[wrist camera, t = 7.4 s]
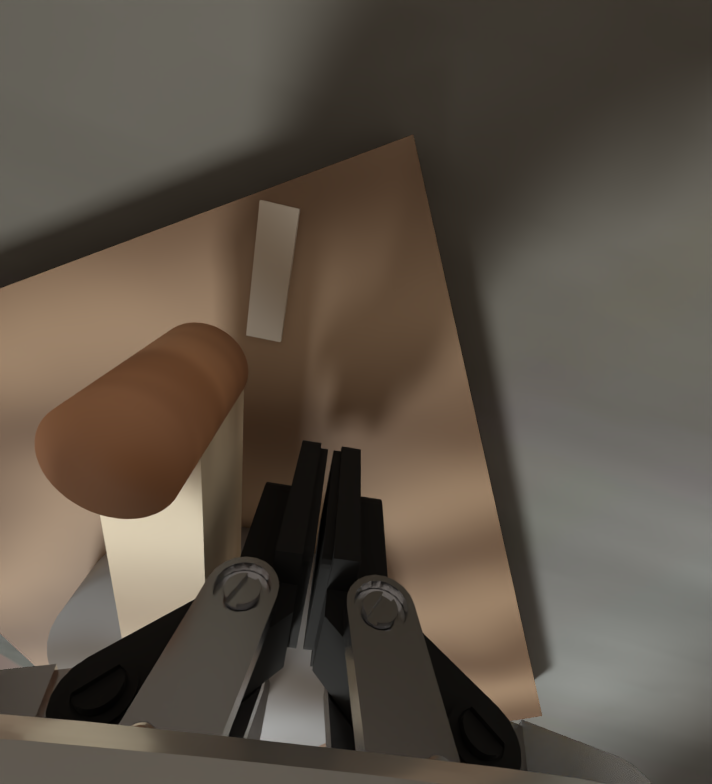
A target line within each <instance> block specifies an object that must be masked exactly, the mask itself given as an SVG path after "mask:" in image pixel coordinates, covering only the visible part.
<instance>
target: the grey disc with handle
mask: <svg viewBox="0 0 712 784" xmlns="http://www.w3.org/2000/svg"><path fill="white" fill-rule="evenodd" d="M247 379H248V364H247V360H246V357H245V355H244V352H243V350H242V349H241V347H240V346H239V344H238V343H237V342H236V341H235V340H234V339H233V338H232V337H231V336H230V335H229V334H227V333H226V332H225V331H223V330H221V329H219V328H217V327H215V326H212V325H209V324H205V323H198V322H192V323H185V324H181V325H178V326H176V327H174V328H172V329H171V330H170V331H168V332H167V333H165V334H164V335H162V336H161V337H159V338H158V339H156V340H155V341H153V342H152V343H150V344H149V345H147V346H146V347H144V348H143V349H141V350H140V351H138V352H137V353H135V354H134V355H133V356H131V357H130V358H128V359H127V360H125V361H124V362H122V363H121V364H119V365H118V366H116V367H115V368H113V369H112V370H110V371H109V372H107V373H106V374H104V375H103V376H101V377H100V378H98V379H97V380H95V381H94V382H93V383H91V384H90V385H88V386H87V387H85V388H84V389H82V390H81V391H79V392H78V393H76V394H75V395H73V396H72V397H70V398H69V399H67V400H66V401H64V402H63V403H61V404H60V405H58V406H57V407H55V408H54V409H53V410H51V411H50V412H49V413H48V414H47V415H46V416H45V417H44V418H43V419H42V421H41V422H40V424H39V425H38V428H37V431H36V434H35V453H36V457H37V460H38V463H39V466H40V468H41V470H42V472H43V473H44V475H45V476H46V478H47V479H48V480H49V482H50V483H51V484H52V485H53V486H54V487H55V488H56V489H57V490H58V491H59V492H60V493H61V494H62V495H63V496H65V497H66V498H67V499H69V500H70V501H72V502H73V503H75V504H76V505H78V506H80V507H82V508H84V509H86V510H88V511H91V512H93V513H96V514H99V515H100V518H101V524H102V529H103V535H104V541H105V546H106V552H107V553H106V554H105V555H104V556H103V557H102V558H101V559H100V560H99V561H98V562H97V563H96V565H95V566H94V567H93V568H92V570H91V571H90V572H89V574H88V575H87V576H86V578H85V579H84V580H83V582H82V583H81V585H80V586H79V587H78V589H77V590H76V591H75V593H74V594H73V596H72V597H71V598H70V600H69V601H68V602H67V604H66V605H65V606H64V608H63V609H62V611H61V612H60V613H59V615H58V616H57V618H56V620H55V621H54V623H53V625H52V627H51V629H50V633H49V637H48V640H47V658H48V662H49V665H50V664H57V668H58V669H67V668H73V667H74V666H76V665H77V664H78V663H80V662H81V661H83V660H84V659H86V658H87V657H89V656H91V655H93V654H95V653H96V652H98V651H100V650H102V649H104V648H106V647H107V646H109V645H111V644H113V643H115V642H117V641H118V640H120V639H122V638H124V637H126V636H128V635H129V634H131V633H133V632H135V631H137V630H139V629H141V628H142V627H144V626H146V625H148V624H150V623H152V622H153V621H155V620H157V619H159V618H161V617H163V616H164V615H166V614H168V613H170V612H172V611H174V610H175V609H177V608H179V607H181V606H183V605H185V604H187V603H188V602H190V601H192V600H194V599H195V598H196V596H197V595H198V593H199V591H200V590H201V588H202V587H203V585H204V583H205V582H206V580H207V578H208V577H209V575H210V574H211V573H212V572H213V571H214V569H215V568H216V567H218V566H219V565H221V564H222V563H224V562H225V561H228V560H231V559H233V558H237V557H240V556H241V553H242V550H243V547H244V544H245V541H246V538H247V536H248V533H249V530H250V528H246V527H241V515H242V462H243V409H244V388H245V385H246V383H247ZM314 561H315V554H314V557H313V563H312V568H311V573H310V579H309V584H308V589H307V594H306V600H305V605H304V610H303V616H302V621H301V626H300V631H299V637H298V642H297V647H296V648H289V647H287V651H286V656H285V662H284V667H283V668H282V669H281V670H279V671H278V672H277V673H276V674H274V675H273V676H272V677H270V678H269V679H268V680H267V681H265V684H264V690H263V693H262V696H261V698H260V701H259V704H258V707H257V710H256V713H255V716H254V719H253V722H252V725H251V727H250V730H249V733H248V736H247V739H255V740H264V741H273V742H282V743H291V744H300V745H309V746H320V745H322V744H324V743H326V738H325V721H324V703H323V693H324V686H323V684H322V683H321V682H320V680H319V679H318V678H317V676H316V675H315V674H314V672H313V671H312V668H313V667H311V666H310V661H311V652H312V650H305V649H303V645H304V638H305V630H306V622H307V615H308V607H309V599H310V592H311V584H312V576H313V569H314Z"/></svg>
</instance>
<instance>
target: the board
mask: <svg viewBox="0 0 712 784" xmlns="http://www.w3.org/2000/svg"><path fill="white" fill-rule="evenodd" d="M192 322H198V323H205V324H209V325H212V326H215V327H217V328H219V329H221V330H223V331H225V332H226V333H227V334H229V335H230V336H231V337H232V338H233V339H234V340H235V341H236V342H237V343H238V344H239V346H240V347H241V349H242V350H243V352H244V355H245V357H246V360H247V364H248V379H247V383H246V385H245V388H244V409H243V462H242V515H241V527H246V528H250V527H251V524H252V521H253V518H254V515H255V512H256V509H257V507H258V504H259V501H260V498H261V495H262V492H263V489H264V486H265V484H266V482H271V483H278V484H284V485H292V481H293V477H294V473H295V469H296V465H297V461H298V457H299V453H300V449H301V445H302V441H303V440H306V441H312V442H319V443H322V444H321V448H324V449H328V455H327V462H326V470H325V477H324V485H323V492H322V499H321V507H320V514H319V522H318V529H317V536H316V544H315V551H314V554H315V553H316V546H317V538H318V531H319V525H320V519H321V514H322V509H323V503H324V498H325V493H326V488H327V482H328V477H329V472H330V466H331V461H332V456H333V451H334V450H336V451H341V448H342V446H343V447H350V448H356V449H361V496H362V497H369V498H375V499H381V500H382V505H383V518H384V532H385V546H386V560H387V574H388V578H391V579H393V580H395V581H396V582H398V583H399V584H400V585H402V586H403V587H404V588H405V589H406V590H407V592H408V593H409V594H410V596H411V598H412V600H413V602H414V604H415V608H416V611H417V615H418V618H419V622H420V625H421V628H422V632H423V633H424V634H425V635H426V636H427V637H428V638H429V639H430V640H431V641H432V642H433V643H434V644H435V645H436V646H437V647H438V648H439V649H440V650H441V651H442V652H443V653H444V654H445V655H446V656H447V657H448V658H449V659H450V660H451V661H452V662H453V663H454V664H455V665H456V666H457V667H458V668H459V669H460V670H461V671H462V672H463V673H464V674H465V675H466V676H467V677H468V678H469V679H470V680H471V681H472V682H473V683H474V684H475V685H476V686H477V687H478V688H479V689H481V690H482V691H483V692H484V693H485V694H486V695H487V696H488V697H489V698H490V699H491V700H492V701H493V702H494V703H495V704H496V705H497V706H498V707H499V708H500V710H501V711H502V712H503V713H504V714H505V716H506V717H507V718H508V719H509V721H513V720H519V719H525V718H531V717H538V716H542V713H541V708H540V704H539V699H538V695H537V690H536V686H535V681H534V677H533V672H532V668H531V663H530V659H529V654H528V650H527V645H526V641H525V636H524V632H523V627H522V623H521V618H520V614H519V609H518V605H517V600H516V596H515V591H514V587H513V582H512V578H511V573H510V569H509V564H508V560H507V555H506V551H505V546H504V542H503V537H502V532H501V528H500V523H499V519H498V514H497V510H496V505H495V501H494V496H493V492H492V487H491V483H490V478H489V474H488V469H487V465H486V460H485V456H484V451H483V447H482V442H481V438H480V433H479V429H478V424H477V420H476V415H475V411H474V406H473V402H472V397H471V393H470V388H469V384H468V379H467V375H466V370H465V366H464V361H463V357H462V352H461V348H460V343H459V339H458V334H457V330H456V325H455V321H454V316H453V312H452V307H451V303H450V298H449V294H448V289H447V285H446V280H445V276H444V271H443V266H442V262H441V257H440V253H439V248H438V244H437V239H436V235H435V230H434V226H433V221H432V217H431V212H430V208H429V203H428V199H427V194H426V190H425V185H424V181H423V176H422V172H421V167H420V163H419V158H418V154H417V149H416V145H415V140H414V136H413V135H410V136H407V137H405V138H402V139H399V140H397V141H394V142H391V143H389V144H386V145H383V146H381V147H378V148H375V149H373V150H370V151H367V152H365V153H362V154H359V155H357V156H354V157H351V158H348V159H346V160H343V161H340V162H338V163H335V164H332V165H330V166H327V167H324V168H322V169H319V170H316V171H314V172H311V173H308V174H306V175H303V176H300V177H298V178H295V179H292V180H289V181H287V182H284V183H281V184H279V185H276V186H273V187H271V188H268V189H265V190H263V191H260V192H257V193H255V194H252V195H249V196H247V197H244V198H241V199H239V200H236V201H233V202H230V203H228V204H225V205H222V206H220V207H217V208H214V209H212V210H209V211H206V212H204V213H201V214H198V215H196V216H193V217H190V218H188V219H185V220H182V221H179V222H177V223H174V224H171V225H169V226H166V227H163V228H161V229H158V230H155V231H153V232H150V233H147V234H145V235H142V236H139V237H137V238H134V239H131V240H129V241H126V242H123V243H120V244H118V245H115V246H112V247H110V248H107V249H104V250H102V251H99V252H96V253H94V254H91V255H88V256H86V257H83V258H80V259H78V260H75V261H72V262H70V263H67V264H64V265H61V266H59V267H56V268H53V269H51V270H48V271H45V272H43V273H40V274H37V275H35V276H32V277H29V278H27V279H24V280H21V281H19V282H16V283H13V284H11V285H8V286H5V287H2V288H0V634H1V635H2V636H3V637H5V638H6V639H7V640H8V641H9V642H10V643H11V644H12V645H13V646H14V647H15V648H16V649H17V650H18V651H20V652H21V653H22V654H23V655H24V656H25V657H26V658H27V659H28V660H29V661H30V662H31V663H32V664H34V665H35V666H41V665H49V662H48V658H47V640H48V637H49V633H50V629H51V627H52V625H53V623H54V621H55V620H56V618H57V616H58V615H59V613H60V612H61V611H62V609H63V608H64V606H65V605H66V604H67V602H68V601H69V600H70V598H71V597H72V596H73V594H74V593H75V591H76V590H77V589H78V587H79V586H80V585H81V583H82V582H83V580H84V579H85V578H86V576H87V575H88V574H89V572H90V571H91V570H92V568H93V567H94V566H95V565H96V563H97V562H98V561H99V560H100V559H101V558H102V557H103V556H104V555H105V554H106V553H107V552H106V546H105V541H104V535H103V529H102V524H101V518H100V515H99V514H96V513H93V512H91V511H88V510H86V509H84V508H82V507H80V506H78V505H76V504H75V503H73V502H72V501H70V500H69V499H67V498H66V497H65V496H63V495H62V494H61V493H60V492H59V491H58V490H57V489H56V488H55V487H54V486H53V485H52V484H51V483H50V482H49V480H48V479H47V478H46V476H45V475H44V473H43V472H42V470H41V468H40V466H39V463H38V460H37V457H36V453H35V434H36V431H37V428H38V425H39V424H40V422H41V421H42V419H43V418H44V417H45V416H46V415H47V414H48V413H49V412H50V411H51V410H53V409H54V408H55V407H57V406H58V405H60V404H61V403H63V402H64V401H66V400H67V399H69V398H70V397H72V396H73V395H75V394H76V393H78V392H79V391H81V390H82V389H84V388H85V387H87V386H88V385H90V384H91V383H93V382H94V381H95V380H97V379H98V378H100V377H101V376H103V375H104V374H106V373H107V372H109V371H110V370H112V369H113V368H115V367H116V366H118V365H119V364H121V363H122V362H124V361H125V360H127V359H128V358H130V357H131V356H133V355H134V354H135V353H137V352H138V351H140V350H141V349H143V348H144V347H146V346H147V345H149V344H150V343H152V342H153V341H155V340H156V339H158V338H159V337H161V336H162V335H164V334H165V333H167V332H168V331H170V330H171V329H172V328H174V327H176V326H178V325H181V324H185V323H192ZM318 747H326V743H324V744H322V745H320V746H318Z"/></svg>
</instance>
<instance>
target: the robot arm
mask: <svg viewBox="0 0 712 784" xmlns="http://www.w3.org/2000/svg"><path fill="white" fill-rule="evenodd" d="M321 444H322V443H319V442H312V441H306V440H303V441H302V445H301V449H300V453H299V457H298V461H297V465H296V469H295V473H294V477H293V481H292V485H284V484H278V483H271V482H266V484H265V486H264V489H263V492H262V495H261V498H260V501H259V504H258V507H257V509H256V512H255V515H254V518H253V521H252V524H251V527H250V530H249V533H248V536H247V538H246V541H245V544H244V547H243V550H242V553H241V556H240V557H237V558H233V559H231V560H228V561H225V562H224V563H222V564H221V565H219V566H218V567H216V568H215V569H214V571H213V572H212V573H211V574H210V575H209V577H208V578H207V580H206V582H205V583H204V585H203V587H202V588H201V590H200V591H199V593H198V595H197V596H196V598H195V599H194V600H192V601H190V602H188V603H187V604H185V605H183V606H181V607H179V608H177V609H175V610H174V611H172V612H170V613H168V614H166V615H164V616H163V617H161V618H159V619H157V620H155V621H153V622H152V623H150V624H148V625H146V626H144V627H142V628H141V629H139V630H137V631H135V632H133V633H131V634H129V635H128V636H126V637H124V638H122V639H120V640H118V641H117V642H115V643H113V644H111V645H109V646H107V647H106V648H104V649H102V650H100V651H98V652H96V653H95V654H93V655H91V656H89V657H87V658H86V659H84V660H83V661H81V662H80V663H78V664H77V665H76V666H74V667H73V668H67V669H58V668H57V664H50V665H41V666H32V667H23V668H13V669H4V670H0V784H651V782H650V781H649V780H648V778H647V777H646V776H644V775H643V774H642V773H641V772H640V771H639V770H638V769H637V768H636V767H635V766H634V765H632V764H630V763H629V762H627V761H625V760H623V759H622V758H620V757H618V756H615V755H613V754H610V753H607V752H605V751H602V750H600V749H597V748H594V747H592V746H589V745H587V744H584V743H581V742H579V741H576V740H574V739H571V738H568V737H566V736H563V735H561V734H558V733H555V732H553V731H550V730H548V729H545V728H542V727H540V726H537V725H535V724H532V723H529V722H527V721H524V720H521V722H520V723H519V724H516V723H514V722H511V721H509V719H508V718H507V717H506V716H505V714H504V713H503V712H502V711H501V710H500V708H499V707H498V706H497V705H496V704H495V703H494V702H493V701H492V700H491V699H490V698H489V697H488V696H487V695H486V694H485V693H484V692H483V691H482V690H481V689H479V688H478V687H477V686H476V685H475V684H474V683H473V682H472V681H471V680H470V679H469V678H468V677H467V676H466V675H465V674H464V673H463V672H462V671H461V670H460V669H459V668H458V667H457V666H456V665H455V664H454V663H453V662H452V661H451V660H450V659H449V658H448V657H447V656H446V655H445V654H444V653H443V652H442V651H441V650H440V649H439V648H438V647H437V646H436V645H435V644H434V643H433V642H432V641H431V640H430V639H429V638H428V637H427V636H426V635H425V634H424V633H423V632H422V628H421V625H420V622H419V618H418V615H417V611H416V608H415V604H414V602H413V600H412V598H411V596H410V594H409V593H408V592H407V590H406V589H405V588H404V587H403V586H402V585H400V584H399V583H398V582H396V581H395V580H393V579H391V578H388V574H387V560H386V546H385V532H384V518H383V505H382V500H381V499H375V498H369V497H362V496H361V449H356V448H350V447H343V446H342V448H341V451H336V450H334V451H333V456H332V461H331V466H330V472H329V477H328V482H327V488H326V493H325V498H324V503H323V509H322V514H321V519H320V525H319V531H318V538H317V546H316V553H315V561H314V569H313V576H312V584H311V592H310V599H309V607H308V615H307V622H306V630H305V638H304V645H303V649H305V650H312V652H311V661H310V666H311V667H313V668H312V671H313V672H314V674H315V675H316V676H317V678H318V679H319V680H320V682H321V683H322V684H323V686H324V693H323V703H324V721H325V738H326V747H318V746H309V745H300V744H291V743H282V742H273V741H264V740H255V739H247V736H248V733H249V730H250V727H251V725H252V722H253V719H254V716H255V713H256V710H257V707H258V704H259V701H260V698H261V696H262V693H263V690H264V684H265V681H267V680H268V679H269V678H270V677H272V676H273V675H274V674H276V673H277V672H278V671H279V670H281V669H282V668H283V667H284V662H285V656H286V651H287V647H289V648H296V647H297V642H298V637H299V631H300V626H301V621H302V616H303V610H304V605H305V600H306V594H307V589H308V584H309V579H310V573H311V568H312V563H313V557H314V551H315V544H316V536H317V529H318V522H319V514H320V507H321V499H322V492H323V485H324V477H325V470H326V462H327V455H328V449H324V448H321Z"/></svg>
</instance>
